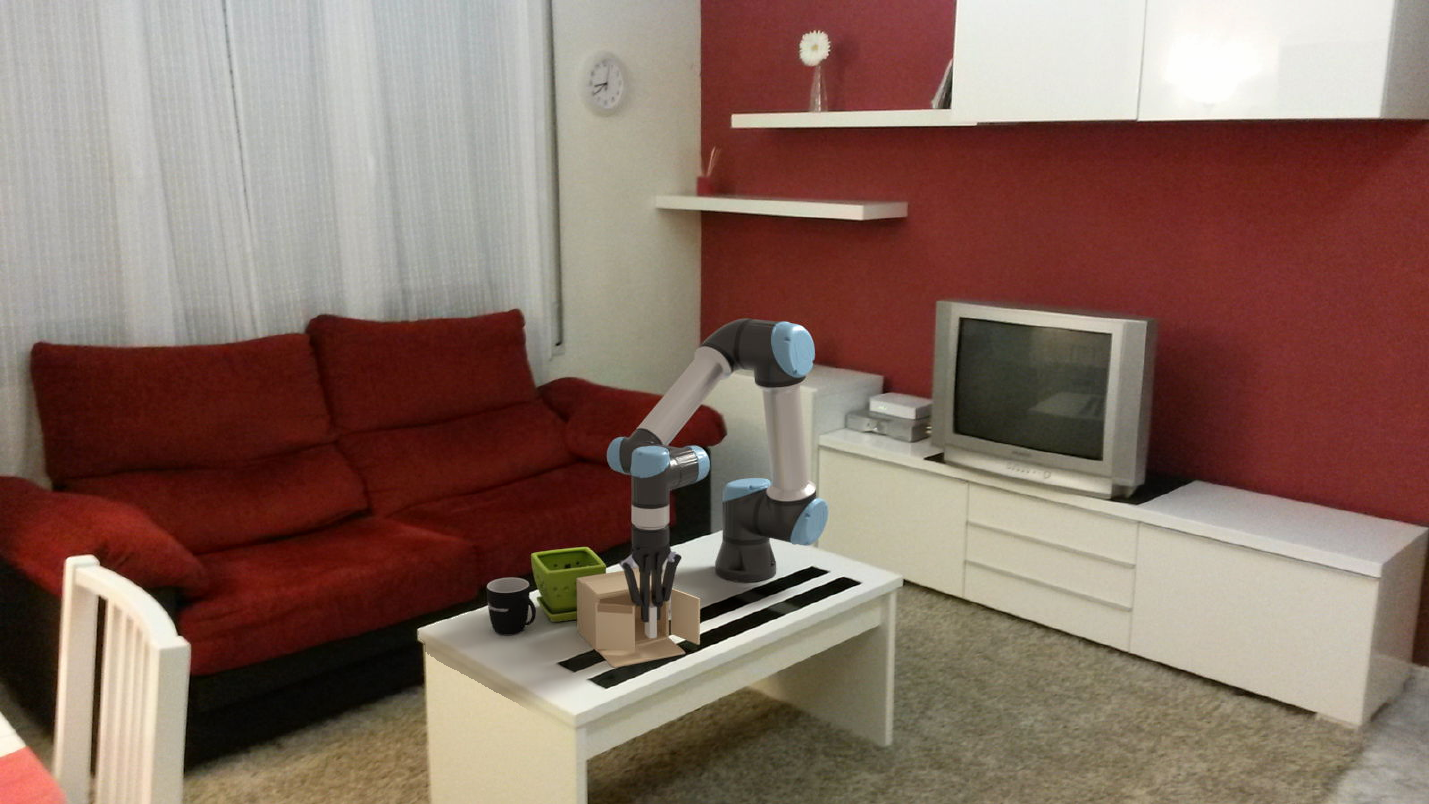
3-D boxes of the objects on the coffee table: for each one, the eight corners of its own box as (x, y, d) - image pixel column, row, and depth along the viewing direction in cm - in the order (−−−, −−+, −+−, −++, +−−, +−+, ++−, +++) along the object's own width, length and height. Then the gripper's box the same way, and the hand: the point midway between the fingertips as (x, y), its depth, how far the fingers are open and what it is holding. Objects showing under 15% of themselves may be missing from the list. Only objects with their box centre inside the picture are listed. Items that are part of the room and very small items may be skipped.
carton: (660, 616, 250) (660, 562, 248) (700, 650, 232) (701, 593, 230) (577, 631, 241) (576, 576, 239) (612, 668, 224) (612, 609, 221)
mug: (479, 631, 241) (477, 586, 239) (508, 618, 248) (507, 574, 246) (521, 644, 234) (519, 598, 232) (549, 630, 242) (548, 585, 240)
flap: (635, 650, 229) (634, 605, 227) (634, 651, 228) (634, 606, 226) (596, 647, 230) (596, 603, 228) (596, 648, 229) (595, 604, 227)
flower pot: (546, 628, 243) (545, 572, 240) (530, 606, 255) (528, 552, 253) (608, 619, 248) (608, 563, 246) (589, 597, 261) (588, 544, 258)
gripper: (672, 515, 231) (672, 623, 236) (612, 523, 225) (613, 634, 230) (688, 525, 225) (687, 636, 229) (627, 534, 219) (628, 648, 223)
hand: (650, 635), depth 230 cm, fingers closed
